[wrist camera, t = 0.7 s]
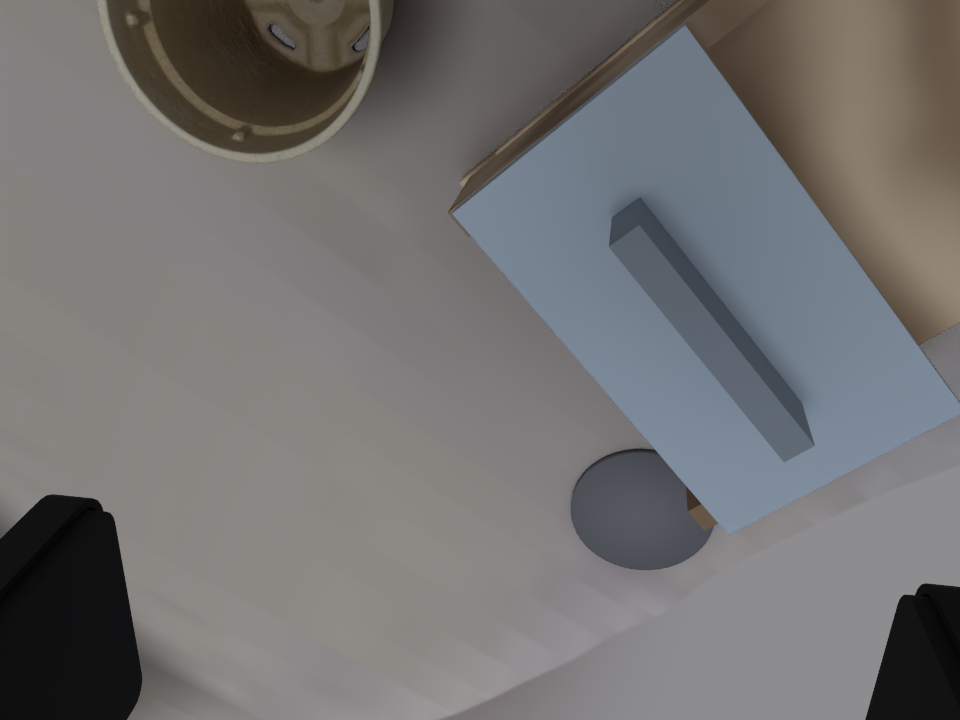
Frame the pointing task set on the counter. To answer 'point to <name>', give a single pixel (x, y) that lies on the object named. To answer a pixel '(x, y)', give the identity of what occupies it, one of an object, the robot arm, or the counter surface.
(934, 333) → the board
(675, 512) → the coaster
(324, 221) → the counter surface
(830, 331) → the lid
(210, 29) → the flower pot
